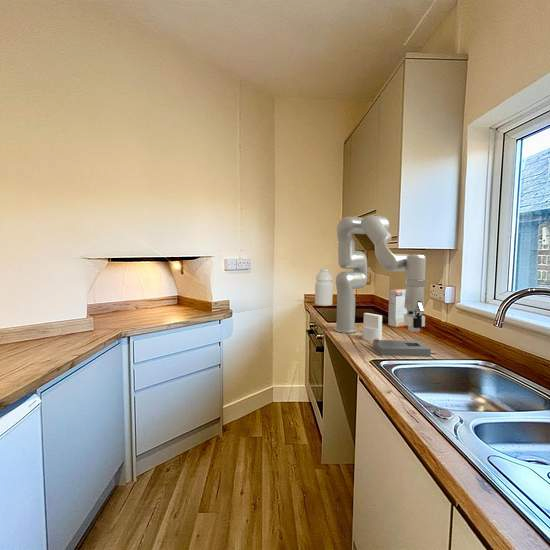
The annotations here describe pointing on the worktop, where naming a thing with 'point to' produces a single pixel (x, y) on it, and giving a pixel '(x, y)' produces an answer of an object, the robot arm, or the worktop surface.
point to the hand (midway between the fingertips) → (414, 325)
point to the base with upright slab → (372, 327)
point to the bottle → (324, 288)
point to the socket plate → (401, 347)
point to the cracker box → (397, 308)
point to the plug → (409, 321)
